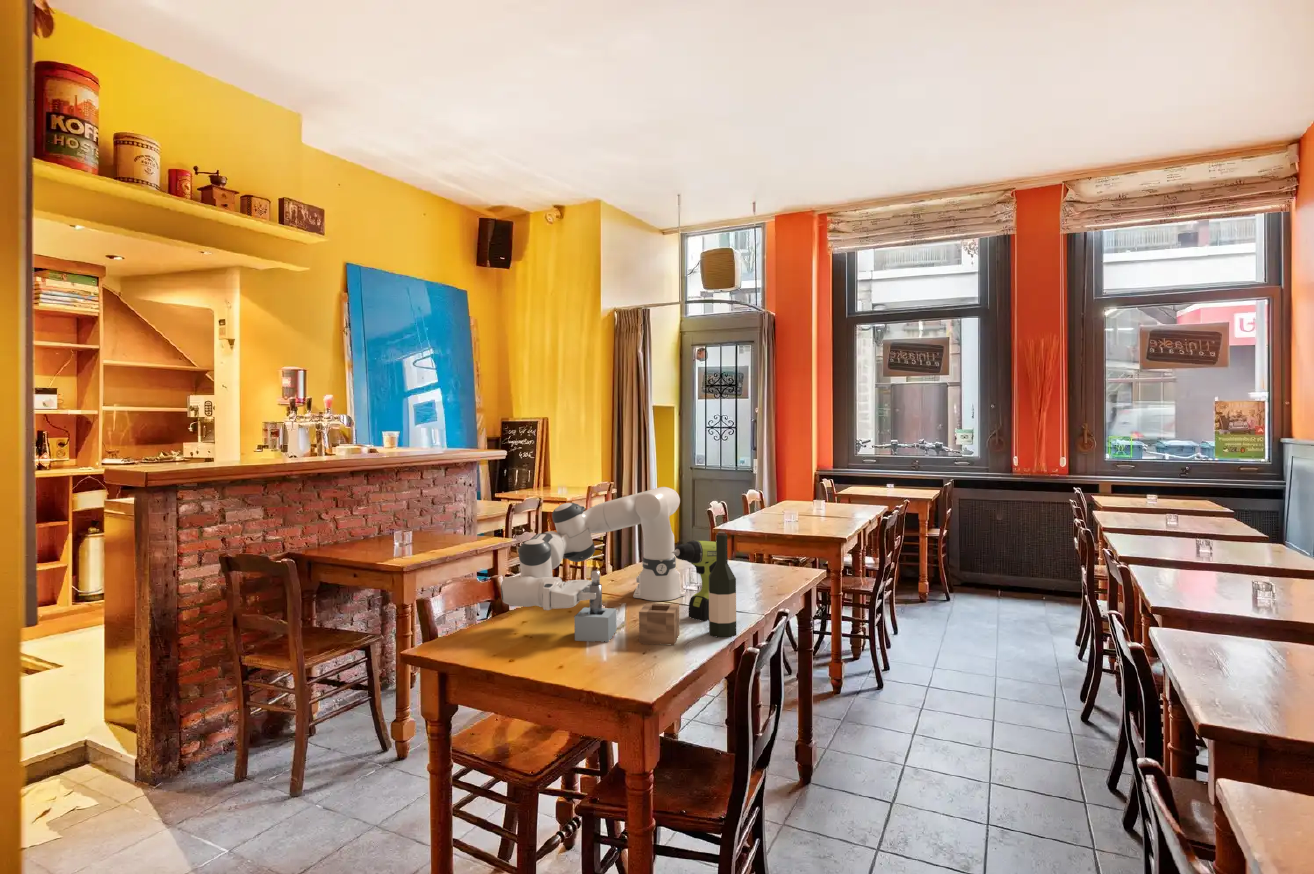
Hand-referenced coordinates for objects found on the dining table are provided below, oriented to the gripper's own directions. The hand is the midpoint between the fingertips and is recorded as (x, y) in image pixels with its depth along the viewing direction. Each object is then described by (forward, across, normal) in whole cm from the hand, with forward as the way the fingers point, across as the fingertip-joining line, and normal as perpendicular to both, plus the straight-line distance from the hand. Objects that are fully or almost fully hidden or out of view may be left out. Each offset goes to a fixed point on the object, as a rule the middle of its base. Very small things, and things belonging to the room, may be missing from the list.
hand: (598, 593), depth 207 cm
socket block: (-1, 0, -12) cm, 13 cm away
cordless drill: (+26, -22, -13) cm, 37 cm away
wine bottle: (+36, -8, -13) cm, 38 cm away
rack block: (+18, 0, -13) cm, 22 cm away
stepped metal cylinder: (-1, 0, -10) cm, 10 cm away
